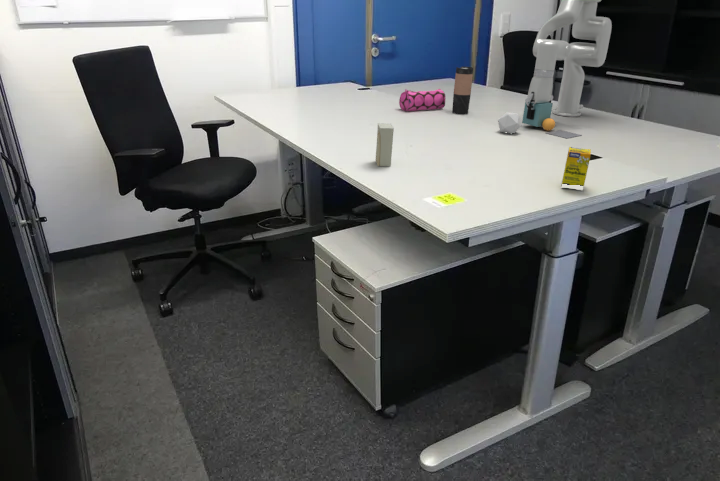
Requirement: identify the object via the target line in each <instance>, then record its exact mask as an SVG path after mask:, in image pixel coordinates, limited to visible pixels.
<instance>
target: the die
mask: <svg viewBox="0 0 720 481" xmlns="http://www.w3.org/2000/svg"><path fill="white" fill-rule="evenodd" d="M497 122H498V127H499V131H501V132H507V133H514V134H515V133H516V132H517V131H519V129H520V128H522V121H521V118H520V114H519V113H514V112H509V111H506V112H505V113H503V115H501V116H500V117H499V118H498V119H497ZM501 132H500V133H501ZM507 133H506V134H507Z"/></svg>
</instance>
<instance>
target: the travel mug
mask: <svg viewBox="0 0 720 481" xmlns="http://www.w3.org/2000/svg"><path fill="white" fill-rule="evenodd" d="M473 75H474V67H471V66H460V67H458V66H456V68H455V77H454V85H453V95H452V96H453V97H452V111H451V112H452V114H455V115H468V113H469V107H470V103H471V102H470V101H471V96H472V95H471V94H472V86H473V77H474V76H473Z"/></svg>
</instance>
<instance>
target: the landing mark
mask: <svg viewBox="0 0 720 481" xmlns="http://www.w3.org/2000/svg"><path fill="white" fill-rule="evenodd" d="M545 134H547V135H552V136H554V137H557V138H559V137H560V138H563V139H572V138H576V137H581V136H582V134H579V133H574V132H572V131H566V130H562V129H557V130H551V131H547V132H545Z"/></svg>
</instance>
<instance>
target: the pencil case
mask: <svg viewBox="0 0 720 481" xmlns="http://www.w3.org/2000/svg"><path fill="white" fill-rule="evenodd" d="M398 104H399V105H398V106H399V107H400V109H401V110H402V111H404V112H417V111H418V112H419V111H428V110H429V111H432V110H440V109H441V110H443V108H445V106H446V94H445V92H444V90H442V89H441V88H438V89H435V90H425V91H424V90H422V91H421V90H420V91H418V90H417V91H415V90H414V91H413V90H411V89H409V90H408V89H407V88H405V89H404V91H403V92H401V94H400V96H399V99H398Z"/></svg>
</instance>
